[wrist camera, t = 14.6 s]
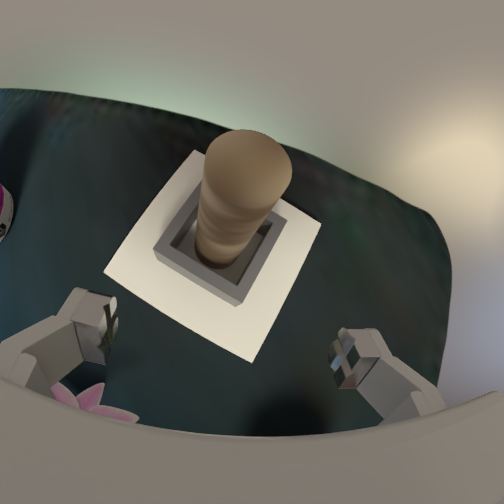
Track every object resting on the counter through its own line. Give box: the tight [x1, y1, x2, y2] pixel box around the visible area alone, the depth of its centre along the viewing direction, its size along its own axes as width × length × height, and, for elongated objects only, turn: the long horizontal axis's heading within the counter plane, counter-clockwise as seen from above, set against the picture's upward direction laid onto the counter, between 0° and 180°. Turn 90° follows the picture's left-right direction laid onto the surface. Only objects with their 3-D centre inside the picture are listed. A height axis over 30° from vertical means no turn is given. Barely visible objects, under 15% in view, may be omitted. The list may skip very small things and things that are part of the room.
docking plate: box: [104, 150, 321, 363], centre depth 25 cm, size 16×16×5 cm
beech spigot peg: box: [194, 130, 292, 269], centre depth 20 cm, size 4×4×14 cm
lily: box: [51, 382, 139, 423], centre depth 17 cm, size 12×12×10 cm
